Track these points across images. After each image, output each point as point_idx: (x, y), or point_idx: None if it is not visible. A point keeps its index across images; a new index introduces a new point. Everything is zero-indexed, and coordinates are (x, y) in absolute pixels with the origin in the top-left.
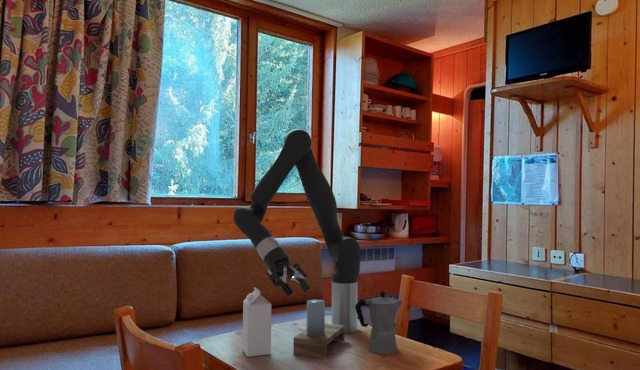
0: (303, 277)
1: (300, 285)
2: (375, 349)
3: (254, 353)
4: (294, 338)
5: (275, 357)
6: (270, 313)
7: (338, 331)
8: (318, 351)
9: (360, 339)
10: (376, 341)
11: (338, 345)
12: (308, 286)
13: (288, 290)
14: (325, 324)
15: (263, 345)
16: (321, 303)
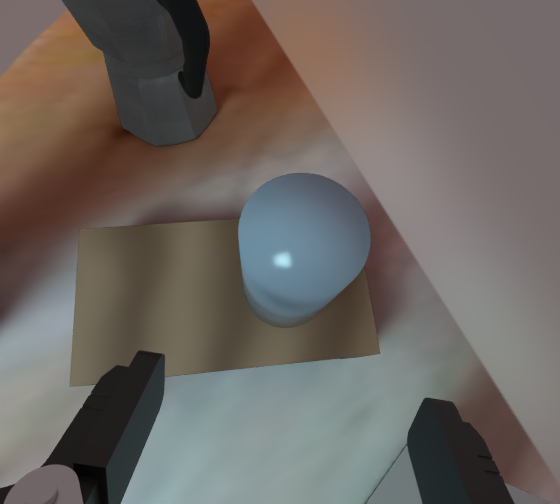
0: (52, 482)
1: (123, 489)
2: (213, 106)
3: None
4: (377, 349)
5: None
6: (528, 495)
7: (178, 224)
8: None
9: (64, 205)
10: (207, 85)
11: None
12: (141, 363)
13: (479, 441)
14: (92, 322)
15: None
16: (328, 181)
